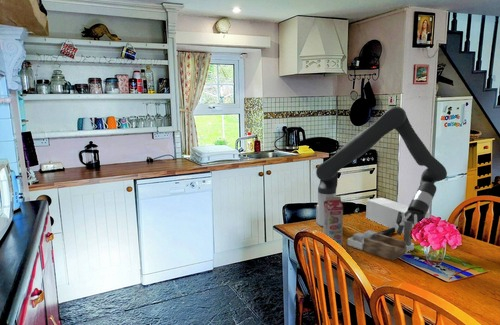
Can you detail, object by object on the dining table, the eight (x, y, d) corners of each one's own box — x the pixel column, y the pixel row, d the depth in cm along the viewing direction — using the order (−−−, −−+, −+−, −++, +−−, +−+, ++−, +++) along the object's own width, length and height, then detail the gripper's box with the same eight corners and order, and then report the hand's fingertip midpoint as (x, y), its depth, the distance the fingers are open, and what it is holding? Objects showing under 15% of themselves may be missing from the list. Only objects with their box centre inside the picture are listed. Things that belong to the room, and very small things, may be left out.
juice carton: (323, 241, 166) (323, 195, 163) (337, 241, 167) (338, 194, 164) (327, 247, 160) (328, 198, 156) (342, 246, 160) (343, 198, 157)
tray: (347, 245, 162) (347, 238, 161) (360, 239, 168) (360, 233, 168) (362, 250, 156) (362, 243, 155) (375, 244, 162) (376, 238, 161)
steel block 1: (360, 245, 160) (353, 243, 163) (366, 243, 162) (358, 240, 165) (361, 236, 159) (353, 234, 162) (366, 234, 162) (358, 232, 165)
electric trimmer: (397, 234, 176) (397, 228, 175) (377, 241, 167) (378, 234, 166) (390, 232, 179) (390, 226, 178) (371, 238, 170) (371, 232, 169)
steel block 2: (363, 240, 158) (363, 232, 158) (368, 238, 161) (369, 230, 160) (371, 243, 155) (372, 234, 155) (376, 241, 158) (377, 232, 157)
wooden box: (363, 250, 155) (364, 238, 155) (376, 245, 161) (377, 233, 161) (392, 260, 145) (393, 247, 144) (405, 254, 151) (406, 241, 150)
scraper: (399, 250, 155) (401, 222, 153) (407, 247, 159) (408, 219, 157) (406, 252, 153) (407, 224, 151) (413, 249, 156) (415, 221, 154)
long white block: (365, 218, 200) (366, 199, 198) (381, 216, 204) (382, 197, 202) (411, 237, 171) (412, 215, 169) (427, 234, 175) (429, 212, 173)
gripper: (402, 195, 162) (386, 227, 157) (434, 202, 151) (419, 236, 146) (407, 205, 166) (392, 236, 161) (439, 211, 155) (424, 245, 150)
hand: (405, 236), depth 153 cm, fingers open, 5 cm apart
